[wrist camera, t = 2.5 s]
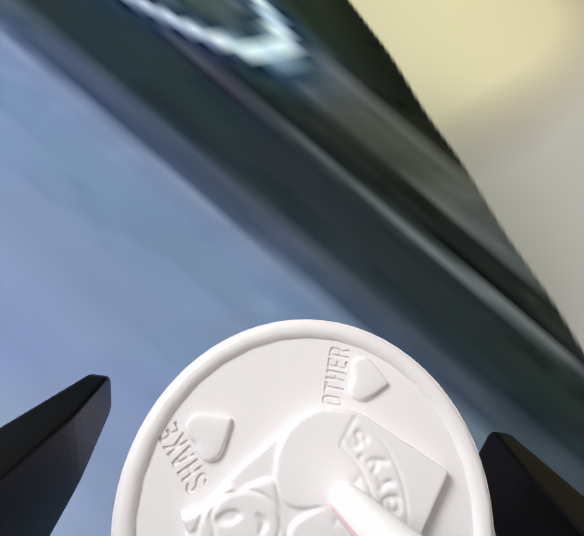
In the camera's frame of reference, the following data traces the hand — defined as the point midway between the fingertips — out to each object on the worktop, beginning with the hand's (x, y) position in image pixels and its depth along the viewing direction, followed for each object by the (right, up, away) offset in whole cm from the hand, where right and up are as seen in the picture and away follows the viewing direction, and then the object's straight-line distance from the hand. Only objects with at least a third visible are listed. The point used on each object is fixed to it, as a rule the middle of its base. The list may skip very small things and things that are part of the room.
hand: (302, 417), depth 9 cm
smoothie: (-1, -4, +6) cm, 8 cm away
